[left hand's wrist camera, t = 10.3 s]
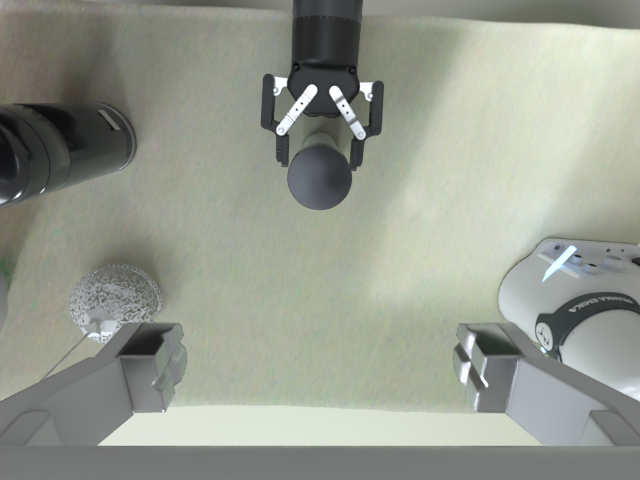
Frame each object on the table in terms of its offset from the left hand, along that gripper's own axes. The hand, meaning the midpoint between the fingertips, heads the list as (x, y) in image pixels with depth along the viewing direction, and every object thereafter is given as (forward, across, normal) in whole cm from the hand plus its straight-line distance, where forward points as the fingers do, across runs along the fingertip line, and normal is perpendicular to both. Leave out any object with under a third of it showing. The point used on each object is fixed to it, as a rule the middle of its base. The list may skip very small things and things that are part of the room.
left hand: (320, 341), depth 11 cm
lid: (+24, 0, 0) cm, 24 cm away
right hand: (+37, 0, -1) cm, 37 cm away
